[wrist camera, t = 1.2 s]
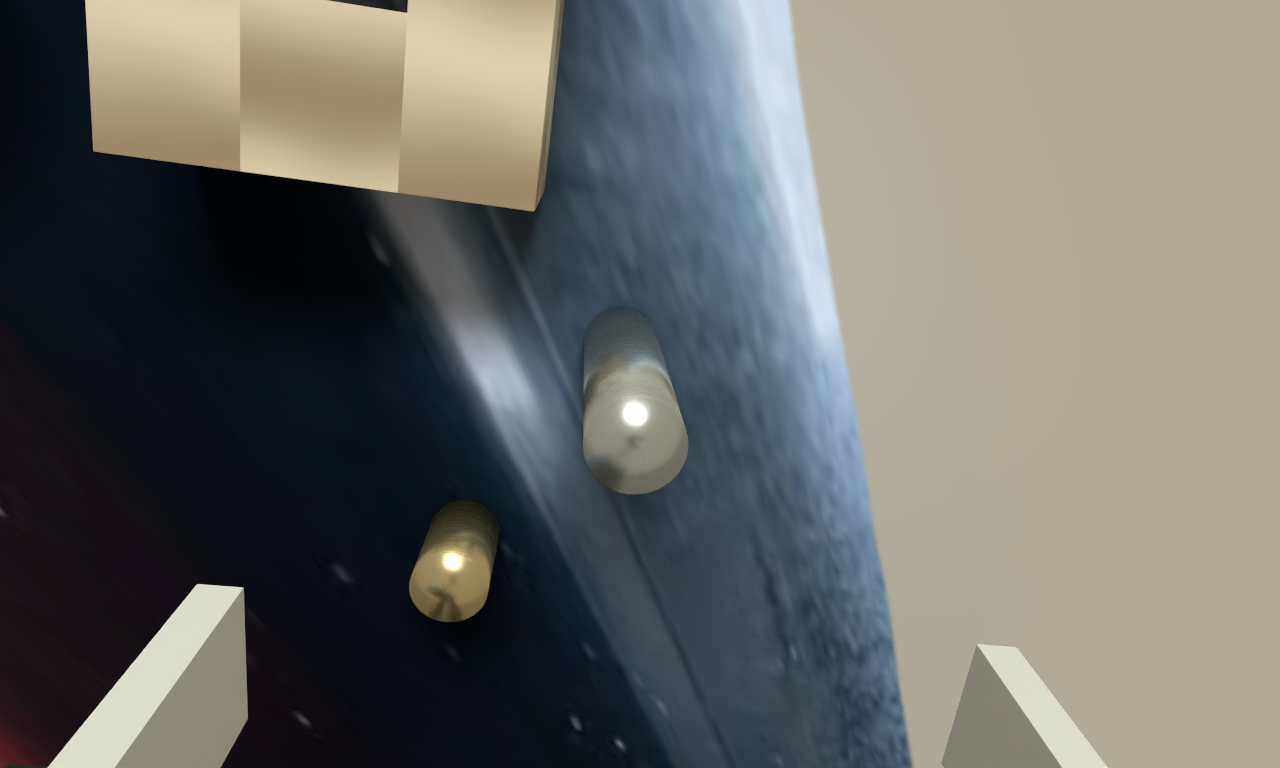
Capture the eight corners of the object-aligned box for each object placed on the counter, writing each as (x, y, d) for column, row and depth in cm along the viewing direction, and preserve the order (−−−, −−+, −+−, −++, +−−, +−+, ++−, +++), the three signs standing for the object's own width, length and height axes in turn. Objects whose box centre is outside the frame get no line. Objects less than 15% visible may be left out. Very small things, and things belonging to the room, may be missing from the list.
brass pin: (496, 563, 40) (484, 625, 35) (428, 557, 40) (407, 618, 35) (502, 503, 39) (491, 558, 34) (432, 496, 39) (411, 550, 34)
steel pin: (651, 380, 38) (679, 499, 26) (580, 372, 37) (577, 488, 26) (661, 311, 37) (696, 403, 25) (589, 302, 36) (590, 391, 25)
